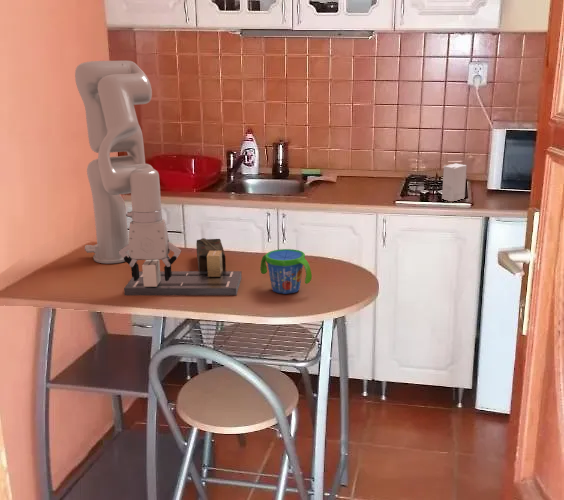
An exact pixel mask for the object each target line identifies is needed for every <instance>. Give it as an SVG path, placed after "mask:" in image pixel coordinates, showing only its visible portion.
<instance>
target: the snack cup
mask: <svg viewBox="0 0 564 500" xmlns="http://www.w3.org/2000/svg"><path fill="white" fill-rule="evenodd" d="M303 266H304V267H303ZM303 268H304V270H305V279H304V284H306V285H307V284H309V283H310V282H311V280H312V276H313V275H312V270H311V266H310V263H309V262H308V260H307V258H306V253H304V252H303V251H302V250H299V249H291V248H283V249H281V248H280V249H274V250H271V251H268V252H267V253H266V254H264V255H263V256H262V258H261V261H260V274H262V275H265V274H267V273H268V275H269V280H270V285H271V289H272V291H273V292H274V293H277V294H284V295H288V294H294V293H298V292H299V290H300V288H301V282H302V275H303Z"/></svg>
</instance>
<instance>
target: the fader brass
mask: <svg viewBox="0 0 564 500" xmlns="http://www.w3.org/2000/svg"><path fill="white" fill-rule="evenodd" d="M207 270H208V277H220V276H221V274H222V271H223V268H222V251H209V253H208V255H207Z"/></svg>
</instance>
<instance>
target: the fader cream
mask: <svg viewBox="0 0 564 500" xmlns="http://www.w3.org/2000/svg"><path fill="white" fill-rule="evenodd" d="M141 267H142V271H143V282H144V287H157V286H158V284H159V282H160V281H161V276H160V271H161V265H160V260H144V262H143V264H142V265H141Z"/></svg>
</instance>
